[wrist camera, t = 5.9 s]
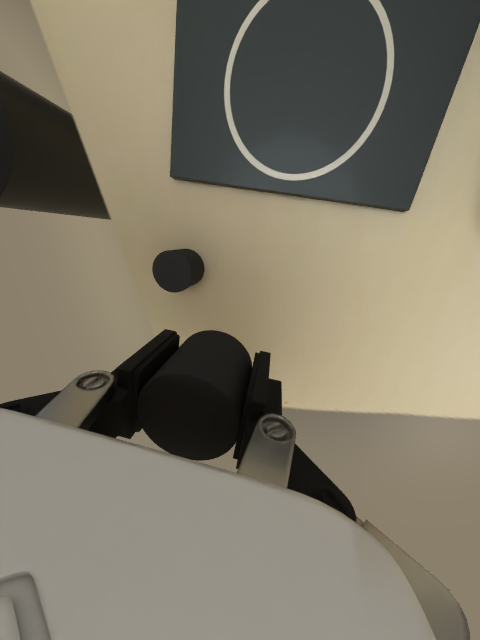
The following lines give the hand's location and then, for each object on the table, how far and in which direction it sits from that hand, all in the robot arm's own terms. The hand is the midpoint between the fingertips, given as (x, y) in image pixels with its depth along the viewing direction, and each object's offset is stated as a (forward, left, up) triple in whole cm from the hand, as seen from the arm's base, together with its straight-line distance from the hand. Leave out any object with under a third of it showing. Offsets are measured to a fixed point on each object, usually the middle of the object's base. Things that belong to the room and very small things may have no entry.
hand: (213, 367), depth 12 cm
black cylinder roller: (-7, +2, -15) cm, 17 cm away
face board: (+1, +18, -15) cm, 24 cm away
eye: (0, 0, 0) cm, 0 cm away
